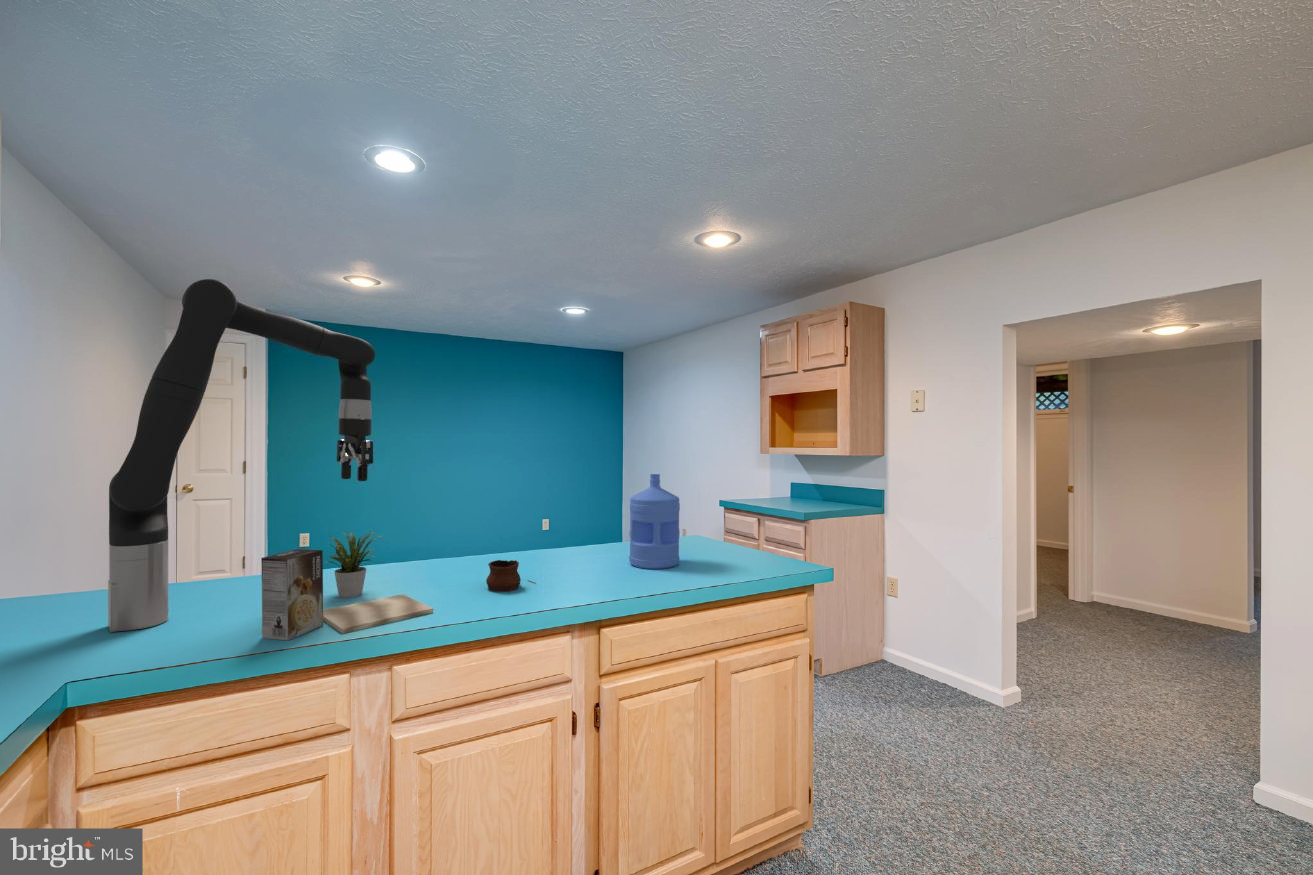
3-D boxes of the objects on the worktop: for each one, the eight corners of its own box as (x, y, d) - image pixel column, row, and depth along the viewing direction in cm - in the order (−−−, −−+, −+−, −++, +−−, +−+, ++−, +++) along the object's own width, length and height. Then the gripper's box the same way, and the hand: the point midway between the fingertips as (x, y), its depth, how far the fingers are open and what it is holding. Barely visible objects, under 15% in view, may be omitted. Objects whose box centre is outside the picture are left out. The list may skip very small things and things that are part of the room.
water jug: (627, 558, 187) (628, 472, 186) (675, 557, 188) (676, 472, 188) (630, 570, 171) (631, 476, 171) (682, 569, 173) (683, 476, 172)
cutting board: (341, 633, 116) (341, 628, 116) (316, 615, 127) (316, 611, 127) (433, 612, 130) (433, 608, 130) (403, 598, 141) (403, 594, 141)
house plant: (394, 585, 152) (394, 523, 152) (378, 600, 139) (378, 533, 138) (336, 587, 150) (336, 524, 150) (314, 603, 136) (314, 534, 136)
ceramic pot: (525, 576, 163) (524, 551, 163) (548, 592, 148) (548, 565, 148) (460, 586, 154) (459, 560, 153) (478, 604, 139) (477, 575, 138)
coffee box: (298, 623, 122) (298, 548, 122) (324, 625, 120) (324, 549, 120) (260, 638, 113) (260, 557, 113) (288, 641, 112) (288, 558, 111)
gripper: (327, 417, 150) (325, 479, 150) (354, 416, 142) (352, 482, 142) (356, 418, 156) (355, 477, 156) (383, 418, 148) (382, 481, 148)
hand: (354, 479), depth 149 cm, fingers open, 8 cm apart
